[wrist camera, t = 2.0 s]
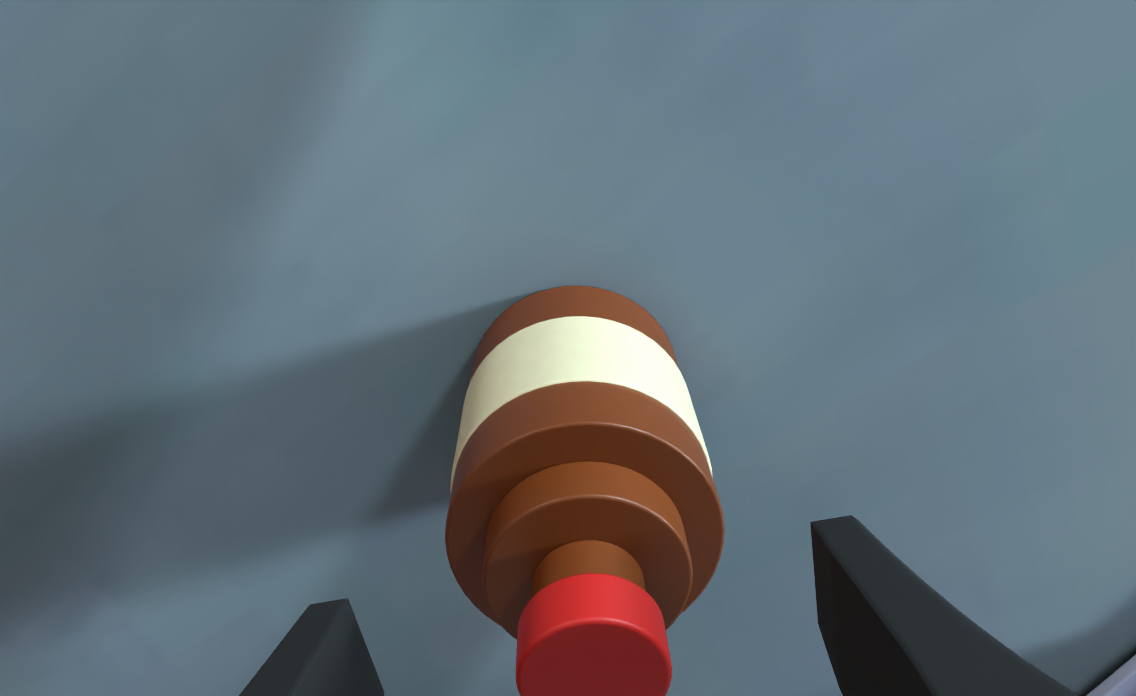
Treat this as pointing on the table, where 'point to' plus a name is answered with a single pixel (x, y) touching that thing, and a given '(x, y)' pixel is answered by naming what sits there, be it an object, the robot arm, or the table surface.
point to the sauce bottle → (582, 493)
